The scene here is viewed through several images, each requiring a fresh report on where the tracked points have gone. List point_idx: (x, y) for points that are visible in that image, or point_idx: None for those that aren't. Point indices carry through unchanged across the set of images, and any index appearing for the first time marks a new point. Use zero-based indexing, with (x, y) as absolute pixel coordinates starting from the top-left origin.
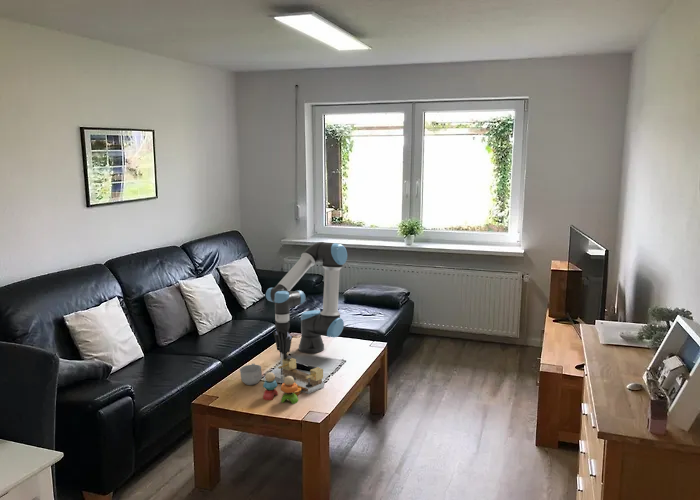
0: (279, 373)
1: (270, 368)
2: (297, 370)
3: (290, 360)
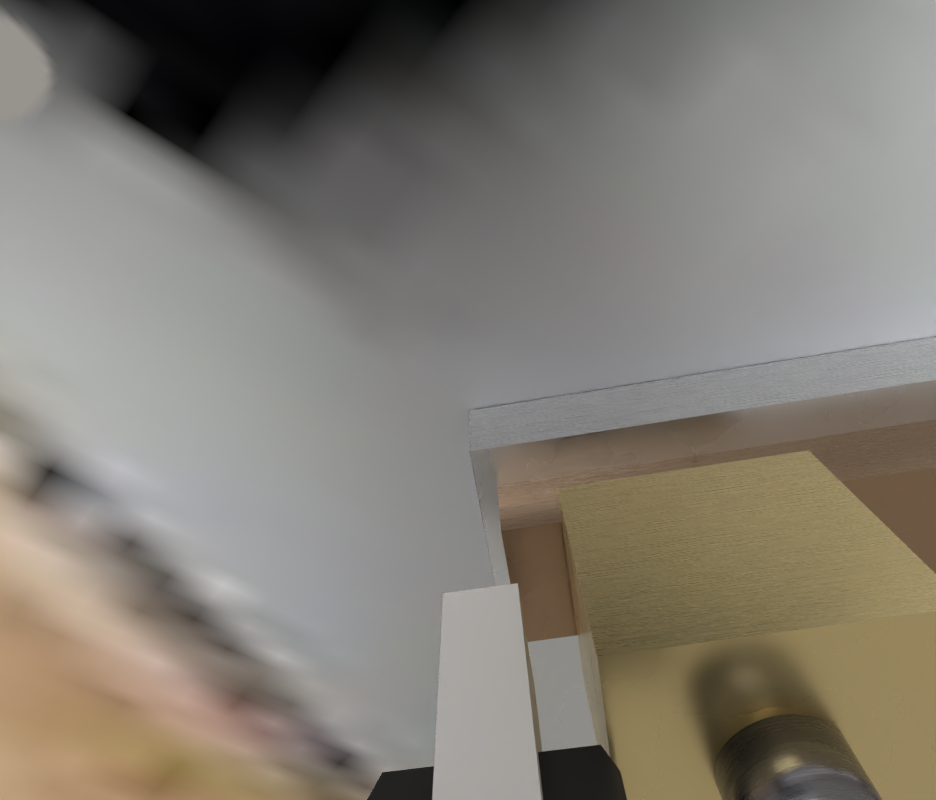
0: (560, 672)
1: (34, 517)
2: (918, 486)
3: (887, 780)
